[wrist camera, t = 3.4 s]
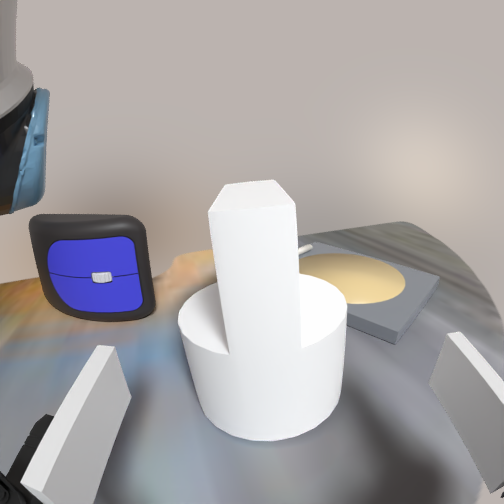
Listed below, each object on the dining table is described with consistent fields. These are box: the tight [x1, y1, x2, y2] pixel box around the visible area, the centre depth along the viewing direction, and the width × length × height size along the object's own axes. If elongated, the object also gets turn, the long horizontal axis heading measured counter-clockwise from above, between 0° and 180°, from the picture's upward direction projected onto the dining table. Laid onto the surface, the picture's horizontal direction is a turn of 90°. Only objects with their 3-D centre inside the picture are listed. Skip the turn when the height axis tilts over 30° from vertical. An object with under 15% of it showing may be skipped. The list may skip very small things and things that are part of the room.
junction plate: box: [298, 242, 440, 344], centre depth 32 cm, size 18×14×2 cm
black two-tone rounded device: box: [29, 214, 156, 321], centre depth 26 cm, size 16×5×9 cm, turn 75°
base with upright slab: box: [178, 180, 347, 441], centre depth 16 cm, size 9×9×12 cm
